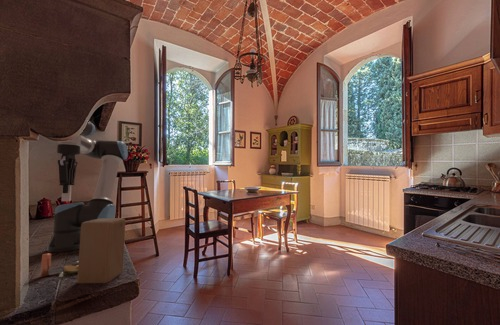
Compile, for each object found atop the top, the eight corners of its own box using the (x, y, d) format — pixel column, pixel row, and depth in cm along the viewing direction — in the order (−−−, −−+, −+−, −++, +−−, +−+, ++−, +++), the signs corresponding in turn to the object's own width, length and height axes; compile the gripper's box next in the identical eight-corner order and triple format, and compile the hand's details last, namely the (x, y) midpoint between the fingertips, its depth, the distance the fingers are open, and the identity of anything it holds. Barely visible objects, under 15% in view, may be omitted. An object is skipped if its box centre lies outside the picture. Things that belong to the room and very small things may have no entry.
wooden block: (123, 274, 82) (126, 217, 84) (107, 286, 72) (110, 221, 74) (95, 274, 82) (99, 218, 84) (75, 286, 72) (79, 222, 74)
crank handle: (37, 279, 74) (39, 257, 75) (43, 272, 80) (44, 252, 81) (86, 271, 81) (88, 251, 82) (88, 265, 87) (89, 247, 88)
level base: (62, 272, 84) (63, 265, 84) (92, 268, 88) (92, 261, 89) (56, 281, 76) (57, 273, 76) (89, 275, 81) (89, 268, 81)
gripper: (65, 146, 101) (62, 199, 99) (50, 142, 89) (46, 203, 87) (85, 147, 103) (82, 199, 102) (73, 143, 91) (70, 202, 89)
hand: (66, 200), depth 94 cm, fingers closed
